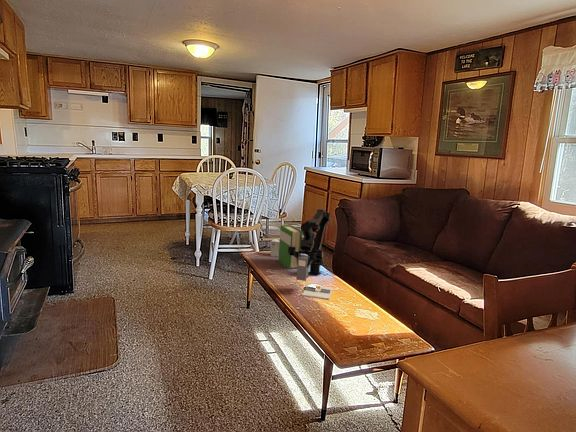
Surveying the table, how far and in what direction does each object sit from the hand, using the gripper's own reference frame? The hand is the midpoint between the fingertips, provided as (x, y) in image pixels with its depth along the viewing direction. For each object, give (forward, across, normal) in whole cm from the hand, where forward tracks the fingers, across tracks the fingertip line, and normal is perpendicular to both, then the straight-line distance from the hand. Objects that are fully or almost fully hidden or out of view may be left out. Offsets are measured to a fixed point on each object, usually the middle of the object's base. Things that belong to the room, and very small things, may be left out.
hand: (302, 266), depth 205 cm
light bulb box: (-31, -29, +51) cm, 66 cm away
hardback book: (-19, -17, +39) cm, 47 cm away
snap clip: (+7, +9, +9) cm, 14 cm away
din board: (+8, +9, +10) cm, 16 cm away
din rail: (+8, +9, +10) cm, 16 cm away
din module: (+4, 0, +6) cm, 7 cm away
